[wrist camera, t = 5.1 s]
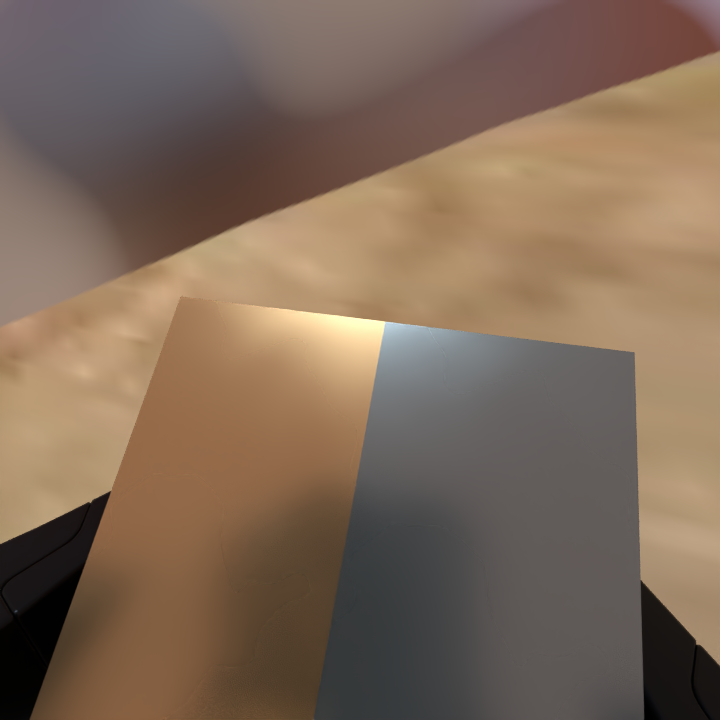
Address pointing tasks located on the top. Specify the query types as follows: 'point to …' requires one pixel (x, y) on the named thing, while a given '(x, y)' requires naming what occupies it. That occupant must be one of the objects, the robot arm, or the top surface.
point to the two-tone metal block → (363, 531)
